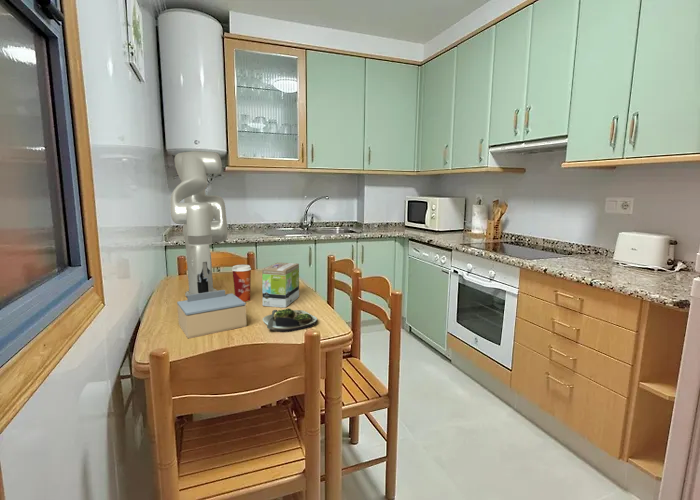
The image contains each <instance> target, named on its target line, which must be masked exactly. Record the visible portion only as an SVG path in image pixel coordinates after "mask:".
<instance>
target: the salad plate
mask: <svg viewBox="0 0 700 500" xmlns="http://www.w3.org/2000/svg"><path fill="white" fill-rule="evenodd" d="M262 321H263V323H264V324H265V325H266V328H267V329H269V330H271V331H273V332H277V333H292V332H296V331H302V330H306V329H309V328H312V327H314V326H315V325H316V324H317V323H318V318H317V316H315V315H312V314H310V313H309V312H308V311H306V310H299V309H291V308H289V307H286V308H285V309H282V308H279V309H278V310H277V309H273V310H272V312H271V314H268V315H266V316H264V317H263V318H262ZM313 325H314V326H313Z"/></svg>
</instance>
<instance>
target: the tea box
mask: <svg viewBox="0 0 700 500" xmlns="http://www.w3.org/2000/svg"><path fill="white" fill-rule="evenodd" d="M261 273H262V277H261V278H262V280H261V281H262V283H261V284H262V288H261V289H262V292H261V293H262V306H263V307H271V308H285V309H287V308H288V306H290V304H291V303H293V302H294V301H296V300H298V299H299V298H298V297H300V264H299V263H294V262H293V263H292V262H276V263H275V262H274V264H271V265H269V266H266V267H264V268H262V269H261Z"/></svg>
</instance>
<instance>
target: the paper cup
mask: <svg viewBox="0 0 700 500" xmlns="http://www.w3.org/2000/svg"><path fill="white" fill-rule="evenodd" d="M231 271H232V279H233V286H234V287H233V288H234V295H235V296H237V297H238V298H239V299H241V300H242V301H243V302H245V303H246V302H249V301H251V279H252V278H251V275H252V268H251V265H249V264H236V265H233V266H232V268H231Z"/></svg>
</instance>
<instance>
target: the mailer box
mask: <svg viewBox="0 0 700 500" xmlns="http://www.w3.org/2000/svg"><path fill="white" fill-rule="evenodd" d="M176 305H177V320H178V326H179V325H180V326H179V327H180V329H181V330H182V332H183V333H184V335H185V337H186V338H187V339H192V338H197V337H203V336H206V335H212V334H217V333H222V332H226V331H231V330H236V329H240V328H246V327H248V326H247V306H246V305H242V306H236V307H231V308H225V309H219V310H213V311H208V312H202V313H196V314H190V315H186V314H185V313H184V312H183V310H182V309H181V308H180V306H179V305H178V304H177V303H176Z"/></svg>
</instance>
